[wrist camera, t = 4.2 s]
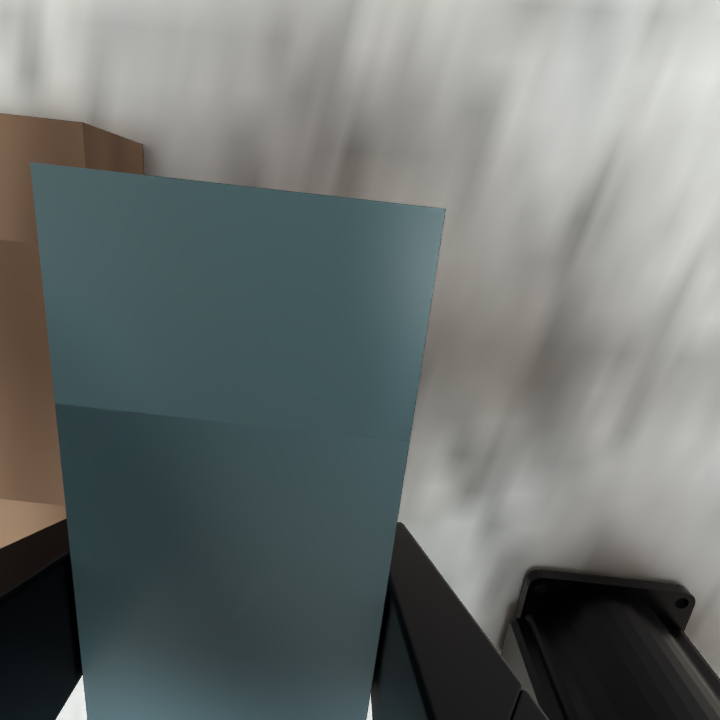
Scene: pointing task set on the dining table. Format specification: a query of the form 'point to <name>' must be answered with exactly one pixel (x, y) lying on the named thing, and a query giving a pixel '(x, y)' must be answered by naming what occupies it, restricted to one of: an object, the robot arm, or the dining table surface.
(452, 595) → the robot arm
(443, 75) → the dining table surface
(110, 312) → the block
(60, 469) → the brown square frame
